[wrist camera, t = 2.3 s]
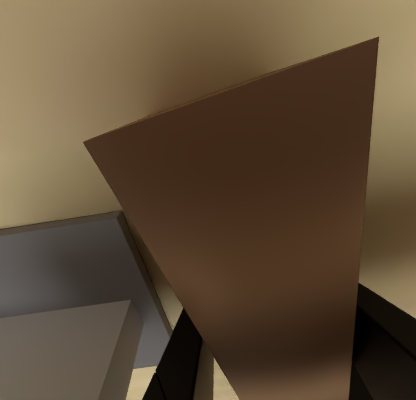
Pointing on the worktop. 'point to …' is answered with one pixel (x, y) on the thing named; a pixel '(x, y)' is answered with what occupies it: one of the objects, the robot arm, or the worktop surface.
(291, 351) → the plank
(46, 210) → the worktop surface
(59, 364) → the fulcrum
